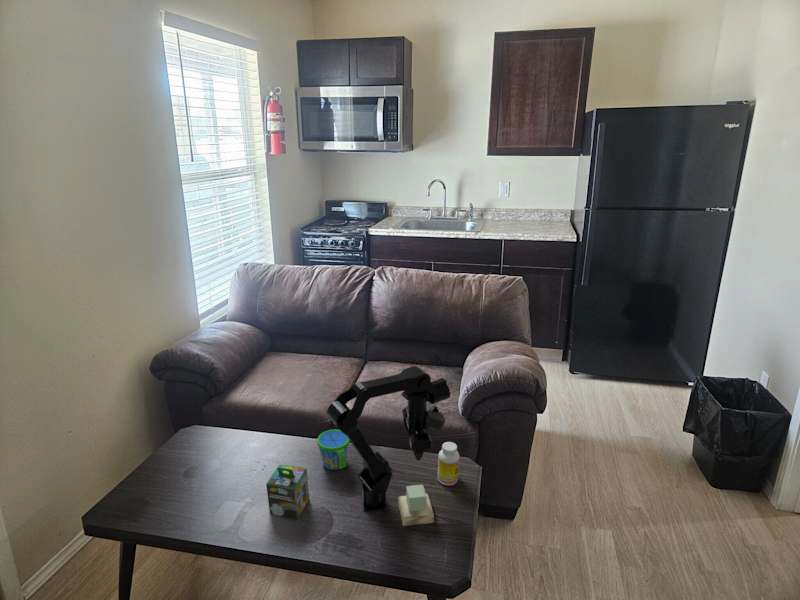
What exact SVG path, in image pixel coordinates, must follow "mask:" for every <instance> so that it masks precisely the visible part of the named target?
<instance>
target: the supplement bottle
mask: <svg viewBox="0 0 800 600" xmlns="http://www.w3.org/2000/svg"><path fill="white" fill-rule="evenodd" d="M437 466H438V467H437V480H438V481H439V483H440V484H442V485H444V486H454V485H455V484H456V483H458V481H459V471H460V469H459V468H460V452H458V445H457V444H456V443H455V442H452V441H446V442H444V443H442V445H441V450H439V452H438V462H437Z"/></svg>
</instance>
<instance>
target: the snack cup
mask: <svg viewBox="0 0 800 600" xmlns="http://www.w3.org/2000/svg"><path fill="white" fill-rule="evenodd" d="M316 443H317V446H318V448H319V452H320V456H321V462H322V464H323V467H324V468H326V470H332V471H334V470H335V471H336V470H342V469H344V468H345V467H347V455H348V450H349V449H348V447H349V445H350V443H351V442H350V440H349V439H348V437H347V436H346V435H345V434H344V433H343V432H342V431H341V430H339V429H338V428H337V429H336V428H335V429H329V430H326V431H323V432H321V433H320V434H319V435H318V437H317V439H316Z"/></svg>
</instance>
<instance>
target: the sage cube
mask: <svg viewBox="0 0 800 600" xmlns="http://www.w3.org/2000/svg"><path fill="white" fill-rule="evenodd" d="M405 490H406V491H405V493H406V494H405V496H406V502H407V506H408V510H409V512H413V511H423V510H426V494H427V493H426V490H425V486H424V484H415V485H406V489H405Z"/></svg>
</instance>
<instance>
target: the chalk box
mask: <svg viewBox="0 0 800 600" xmlns="http://www.w3.org/2000/svg"><path fill="white" fill-rule="evenodd" d="M265 484H266V492H267V493H266V494H267V501H268V502H267V503H268V508H269V509H268V510H269V515H272V516H277V517H283V518H286V519H293V520H298V519H299V517H300V515H301V514H302V512H303V511H304V509H305V507H306V506H307V504H308V502H309V500H310V492H309V490H310V489H309V481H308V471H307V467H301V466H295V465H293V466H292V465H287V464H279V465H278V467H277V468H276V469H275V470H274V471H273V473H272V474H271V477H269V479H268V480H267V482H266V483H265Z"/></svg>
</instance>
